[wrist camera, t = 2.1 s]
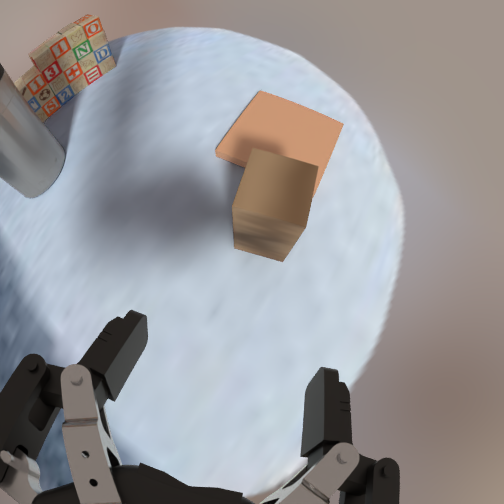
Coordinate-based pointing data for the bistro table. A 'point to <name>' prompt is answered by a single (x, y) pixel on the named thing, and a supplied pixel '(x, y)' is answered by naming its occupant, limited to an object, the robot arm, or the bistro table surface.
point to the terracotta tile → (281, 133)
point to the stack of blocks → (65, 65)
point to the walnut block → (272, 204)
